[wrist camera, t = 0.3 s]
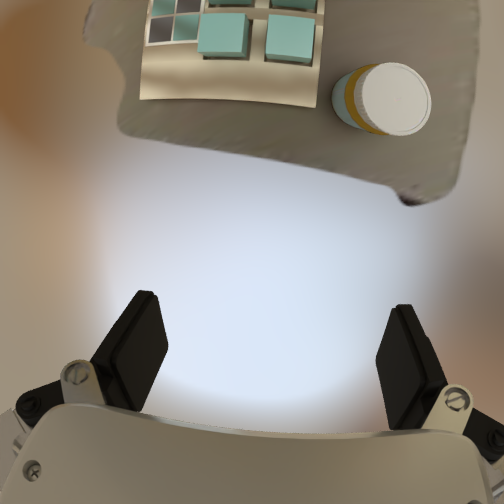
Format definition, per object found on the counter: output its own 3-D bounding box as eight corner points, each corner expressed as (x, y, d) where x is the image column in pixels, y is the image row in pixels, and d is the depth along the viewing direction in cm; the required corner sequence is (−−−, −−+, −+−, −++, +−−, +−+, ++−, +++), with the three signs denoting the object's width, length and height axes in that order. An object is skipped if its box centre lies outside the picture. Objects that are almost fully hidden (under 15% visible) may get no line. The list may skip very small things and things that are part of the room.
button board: (167, -39, 25) (156, -49, 22) (324, -39, 24) (327, -52, 20) (151, 99, 35) (138, 99, 32) (312, 107, 34) (315, 107, 31)
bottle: (327, 121, 35) (351, 131, 21) (333, 69, 31) (360, 48, 18) (380, 131, 34) (429, 149, 21) (386, 80, 31) (439, 70, 18)
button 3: (209, 21, 27) (201, 13, 24) (249, 21, 27) (245, 13, 24) (205, 56, 29) (197, 51, 26) (246, 57, 29) (241, 52, 26)
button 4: (270, 22, 27) (268, 14, 23) (312, 27, 26) (314, 19, 23) (267, 58, 29) (265, 53, 26) (309, 63, 28) (311, 58, 25)
